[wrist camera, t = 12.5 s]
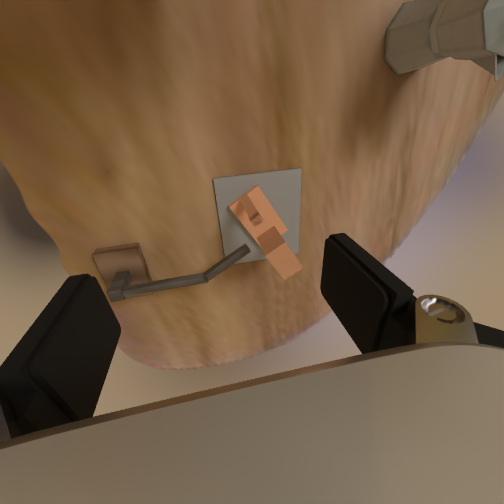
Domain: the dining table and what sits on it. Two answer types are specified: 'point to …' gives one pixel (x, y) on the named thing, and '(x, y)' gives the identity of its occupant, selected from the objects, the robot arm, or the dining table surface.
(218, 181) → the mat
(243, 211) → the orange block
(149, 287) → the stand
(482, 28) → the coffee maker
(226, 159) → the dining table surface
